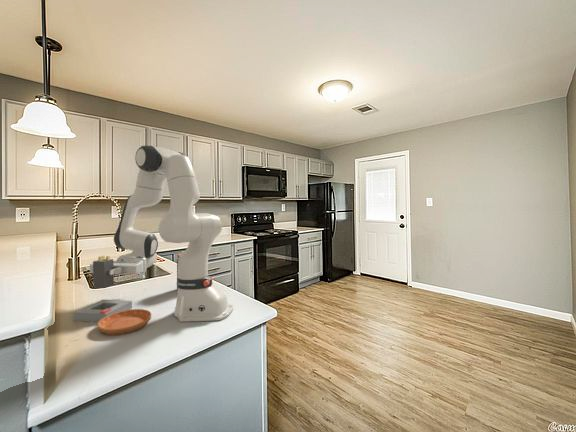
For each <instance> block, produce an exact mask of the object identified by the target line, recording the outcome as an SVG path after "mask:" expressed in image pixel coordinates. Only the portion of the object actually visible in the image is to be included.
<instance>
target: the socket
mask: <svg viewBox="0 0 576 432" xmlns="http://www.w3.org/2000/svg"><path fill="white" fill-rule="evenodd" d="M130 309H133V300H124V299H123V300H120V299H101V300H99V301H96V302H94V303H91V304H90V305H87V306H85V307H82V308H80V309H78V310H75V311H73V321H74V322H77V321H78V322H94V323H98V322H99V321H100V320H101V319H102V318H104V317H106V316H108V315H110V314H113V313H116V312H120V311H124V310H130Z"/></svg>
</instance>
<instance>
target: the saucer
mask: <svg viewBox="0 0 576 432" xmlns="http://www.w3.org/2000/svg"><path fill="white" fill-rule="evenodd" d="M151 319H152V313H151V311H149V310H147V309H143V308H131V309H130V310H124V311H120V312H116V313H113V314H110V315H108V316H106V317H104V318H102V319H101V320H100V321H99V322H97V325H96V327H97V329H98V330H99V331H101V332H102V333H104V334H106V335H111V336H112V335H114V336H115V335H123V334H128V333H132V332H135V331H137V330H139V329H141V328H143V327H145V326H146V324H148V323H149V321H150V320H151Z"/></svg>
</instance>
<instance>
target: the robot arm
mask: <svg viewBox="0 0 576 432" xmlns="http://www.w3.org/2000/svg"><path fill="white" fill-rule="evenodd" d="M134 158H135V159H134V160H135V163H136V165H137V167H138V168H139V170H138V174H137V179H136V184H135V188H134V191H133V193H132V194H130V195H129V196H128V197H127V198H126V200H125V204H124V205H123V210H122V213H121V215H120V216H121V217H120V220H119V224H118V227H117V229H116V231H115V233H114V236H113V242H114V245H115V246H116V247H117V248H118V249H120V250H127V251H132V252H130V253H126V254H122V255H120V256H119V257H118V258H117V259H116V260H113V268H114V269H110V270H108V271H107V275H113V274H114V275H122V276H129V275H138V274H139V275H140V274H145V273H146V272H147V268H150V267H151V266H152V265H154V264H155V263H156V262H157V258H158V254H157V250H158V246H159V241H158V238H157V235H155V234H154V233H151V232H148V231H143V230H138V229H135V228H134V222H135V220H136V216H137V213H138V212H139V210H140V209H143V208H148V207H153V206H155V205H158V204H159V203H160V202H161V201H162V199H163V196H164V190H165V181H166V182H167V187H168V193H169V199H170V204H169V208H168V209H169V210H168V212H166V213H167V214H166V215H164V216H163V217H162V219H161V220H160V222H159V224H158V232H159V236H160V238H161V239H162V240H163V241H164V242H165V243H173V244H183V243H188V245H187V247H186V249H185V250H184V251H182V252H181V253H182V254H181V255H180V256H179V258H178V257H177V259H178V277H177V276H176V290H177V297H176V303H175V309H174V311H173V315H174V317H176V318H178V322H181V323H182V322H183V323H184V322H202V321H203V322H206V321H209V322H210V321H212V322H213V321H221V320H224V319H227V318H228V317H229V316H230V315H231V314H232V313H233V311H234V304H232V303H228V298H227V294H226V293H225V292H224V291H222V290H221V289H220V288H218V287H217V286H215V285H214V284H213V281H214V278H215V276H212V277H211V276H210V274H208V273H209V272H208V271H209V269H208V268H209V254H210V251H211V248H212V245H213V243H214V241H215V240H216V239H217V237H218V236H220V234H221V232H222V229H223V223H222V220H221V218H220V216H218V215H216V214H212V213H207V212H200V213H198V212H197V213H196V212H195V213H194V211H193V206H194V205H195V204H197V202H199V200H200V198H201V193H200V192H201V191H200V189H199V184H198V179H197V176H196V172H195V169H194V167H193V164H192V163H191V160H190V158H189V156H188V155H186V154H185V153H183V152H180V151H176V150H172V149H168V148H167V147H166V148H165V147H160V146H153V145H140V147H139V148H138V149H137V150H136V153H135V157H134ZM89 273H90V274H93V263H90V264H89Z"/></svg>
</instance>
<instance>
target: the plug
mask: <svg viewBox="0 0 576 432" xmlns="http://www.w3.org/2000/svg"><path fill="white" fill-rule="evenodd" d="M113 261H114V258H113V259H111V257H110V255H106V256H105V255H99V256H98V260H93V261H92V264H93V273H92V275H93V276H92V277H93V281H92V283H93V288H94V289H106V288H109V287H112V286H113V285H114V284H115V281H114V280H115V278H114V277H115V274H113V275H107V271H108V270H110V269H114V268H113Z"/></svg>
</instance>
